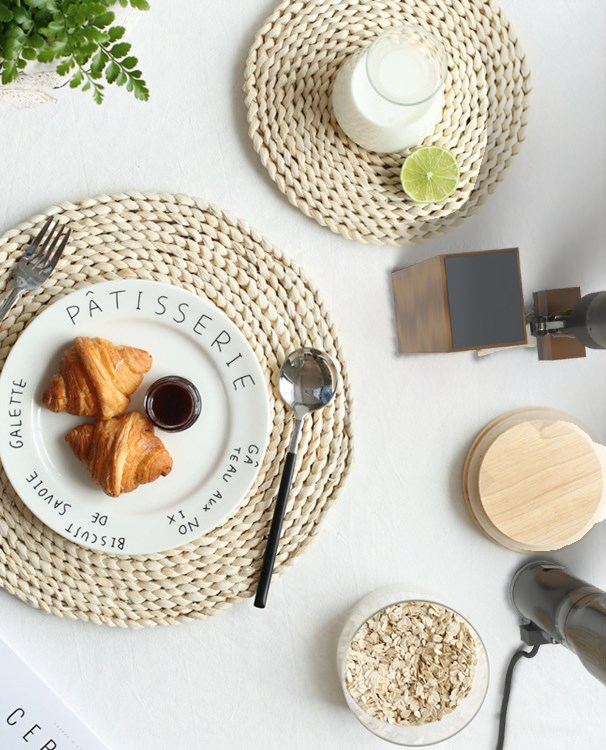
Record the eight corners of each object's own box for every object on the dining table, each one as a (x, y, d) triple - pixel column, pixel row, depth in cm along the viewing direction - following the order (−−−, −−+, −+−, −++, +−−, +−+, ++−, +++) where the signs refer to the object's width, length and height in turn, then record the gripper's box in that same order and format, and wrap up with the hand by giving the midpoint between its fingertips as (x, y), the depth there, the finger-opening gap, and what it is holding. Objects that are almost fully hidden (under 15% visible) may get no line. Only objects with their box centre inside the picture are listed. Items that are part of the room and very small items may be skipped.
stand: (464, 347, 124) (527, 344, 102) (399, 353, 123) (448, 352, 101) (456, 267, 123) (518, 247, 101) (391, 273, 123) (439, 254, 101)
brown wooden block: (571, 357, 121) (586, 357, 116) (538, 360, 121) (552, 360, 116) (565, 289, 121) (580, 286, 116) (532, 292, 120) (546, 289, 116)
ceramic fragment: (549, 298, 124) (561, 296, 120) (565, 328, 125) (578, 327, 121) (470, 344, 124) (479, 344, 120) (486, 374, 124) (496, 375, 120)
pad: (523, 340, 102) (525, 340, 101) (452, 348, 101) (453, 348, 101) (515, 251, 101) (516, 251, 101) (443, 258, 101) (444, 258, 100)
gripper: (563, 354, 103) (507, 355, 120) (672, 343, 104) (602, 345, 121) (557, 294, 103) (502, 303, 120) (667, 284, 104) (597, 294, 121)
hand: (553, 325), depth 120 cm, fingers closed on brown wooden block, 5 cm apart
